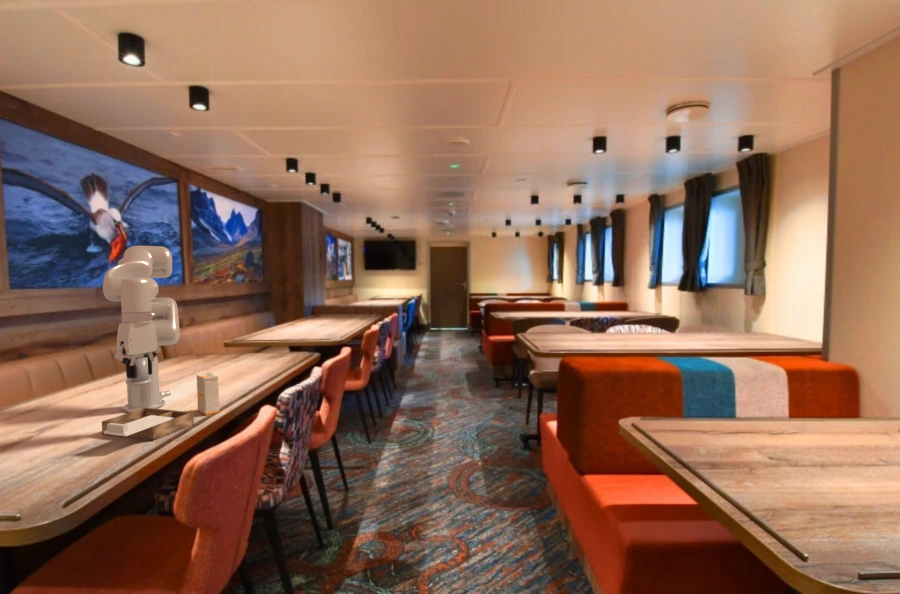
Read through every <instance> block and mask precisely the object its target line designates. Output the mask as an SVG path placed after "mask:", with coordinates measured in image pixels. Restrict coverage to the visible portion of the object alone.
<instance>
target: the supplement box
mask: <svg viewBox="0 0 900 594" xmlns="http://www.w3.org/2000/svg"><path fill="white" fill-rule="evenodd" d="M219 386H220V385H219V375H216V374H215V373H212V372H207V373H206V372H205V373H200V374H196V391H197V392H196V393H197V396H196V397H197V412H200V413H201V414H203V415H204V416H210V415H215V414H217V413H218V414H219V413H220V390H219V389H220V388H219Z"/></svg>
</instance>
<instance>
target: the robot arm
mask: <svg viewBox="0 0 900 594" xmlns="http://www.w3.org/2000/svg"><path fill="white" fill-rule="evenodd" d="M172 273H173V255H172V253H171V251H170V250H169V249H168V248H167V247H165V246H160V245H158V246H156V245H134V246H130V247H128V248H127V249H126V250H125V251H124V254H123V257H122V258H120V259H119V260H118V261H117V265H115V266H113V267H112V268H110V269H109V270H107V271H106V272H105V275H104V278H103V283H102V293H103V296H104V298H105V299H106V300H108V301H111V302H121V305H120V306H121V322H122V323H119V325H118V328H117V335H116V353H115V355H114V356H113V357H114V359H116V360H118V361H119V362H121V363H122V364H123V366H125V370H126V380H130V379H131V378H136V377H137V372H136V365H134V362H135V358H136V357H148V377H149V379H151V383H149V384H146V385H139V386H130V385H129V384H126V395H127V403H126V404H125V405H123V406H122V411H123V412H125V413H130V412H133V411H136V410H139V409H142V408H155V409H160V408H161V407H163V406H164V405H166V403H165V402H166V401H165V400H164V397H165V398H166V397H169V396H171V395H172V392H171V390H166V391H163V392H162V391H160V376H159V373H160V372H159V358H158V356H157V354H159V353H160V352H161V350H162V348H161V346H163V347H164V346H171V345H175V344H177V343H178V342H179V341H180V336H181V335H180V333H181V330H180V318H179V309H178V305H177V302H176V300H175V299H174V298H171V297H157V295H158V294H159V283H158V282H157V281H156V280H155V279H167V278H169V277H170V276H171V275H172Z"/></svg>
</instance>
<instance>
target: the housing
mask: <svg viewBox="0 0 900 594" xmlns="http://www.w3.org/2000/svg"><path fill="white" fill-rule="evenodd" d="M150 415H154V416H163V417H171V420H169V421H166V422H164V423H161V424H158V425H155V426H153V427H150V428H147V429H145V430H142V431H139V432H136V433H134V434H131V435H128V436H123V437H122V438H127V437H130V439H135V438H138V439H137V440H143V439H147V440H146V441H151V440H155V441H157V440H159V439H158V438H160V439H162V438H164V437H163V436H165V437H166V435H167V436H169V435H171V434H170V433H172V434H174V433H176V431H177V432H178V430H179V431H181V429H182V430H184V429H187V428H189V427H191V426H194V425H195V420H194V419H195V416H194V412H191V411H185V410H184V411H182V410H173V409H163V408H156V409H155V408H142V409H139V410H136V411H133V412H126V413H125V414H120V415H118V416H115V417H112V418H107V419H105V420H102V421H101V434H102V435H104V431H106V430H107V424H109V423H118V424H126V423H129V422H132V421H135V420H138V419H141V418H144V417H147V416H150ZM188 426H189V427H188ZM186 427H187V428H186ZM183 428H184V429H183ZM173 432H174V433H173ZM168 434H169V435H168ZM108 436H112V435H111V434H109V435H108ZM116 437H119V435H117V436H116ZM161 437H162V438H161ZM156 439H157V440H156Z"/></svg>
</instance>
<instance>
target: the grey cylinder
mask: <svg viewBox="0 0 900 594" xmlns="http://www.w3.org/2000/svg"><path fill="white" fill-rule="evenodd" d="M134 365H136V372H137V377H136V378H131V379H130V380H127V379H126V380H125V384H126V385H127V384H129V385H130V386H139V385H146V384H149V383H151V379H149V377H148V357H136V358H135V362H134Z"/></svg>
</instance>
